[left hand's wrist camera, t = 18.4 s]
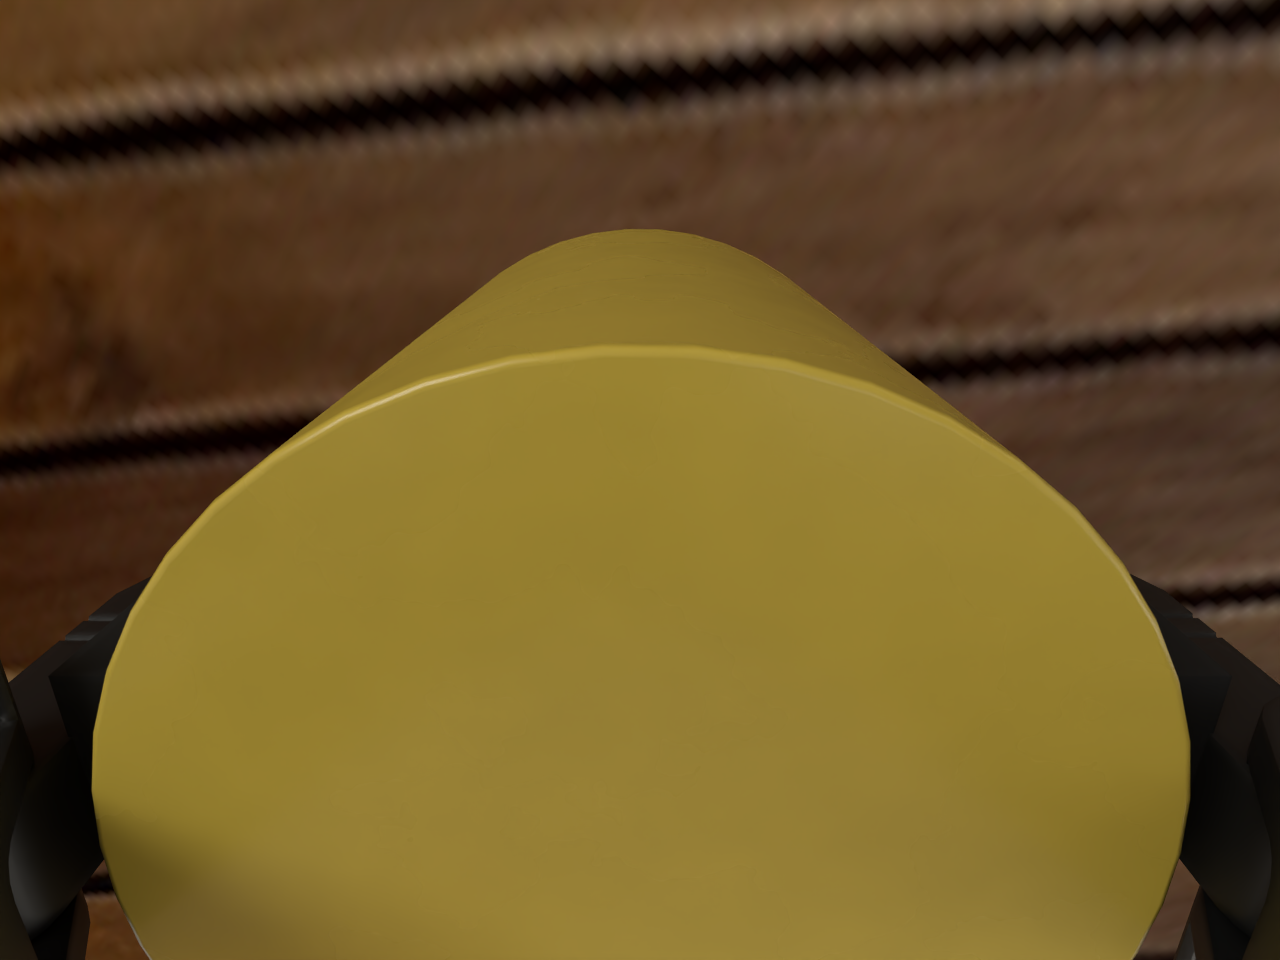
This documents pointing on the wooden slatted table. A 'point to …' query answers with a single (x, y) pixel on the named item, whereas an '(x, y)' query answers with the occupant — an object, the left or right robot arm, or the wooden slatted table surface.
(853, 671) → the yellow cylinder
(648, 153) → the wooden slatted table surface
